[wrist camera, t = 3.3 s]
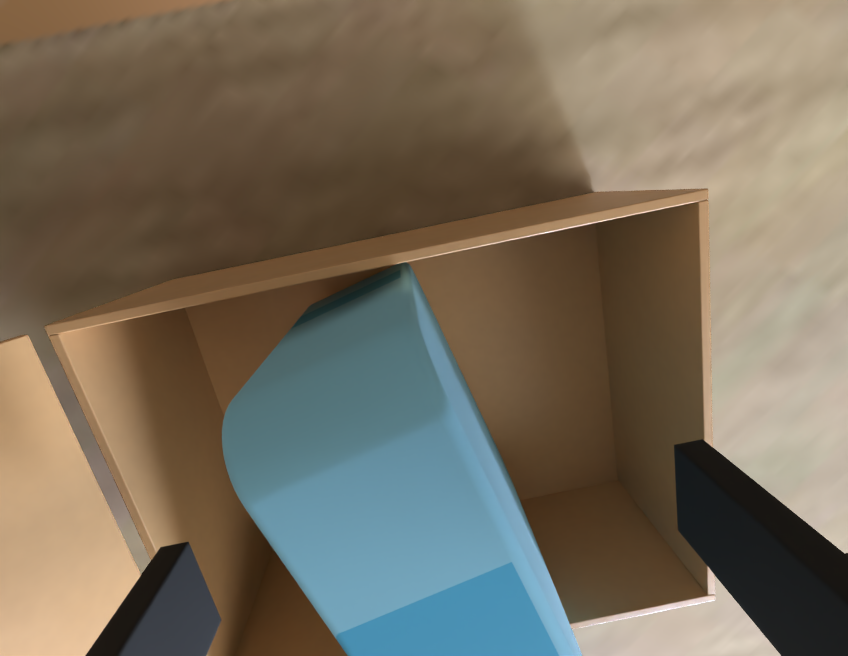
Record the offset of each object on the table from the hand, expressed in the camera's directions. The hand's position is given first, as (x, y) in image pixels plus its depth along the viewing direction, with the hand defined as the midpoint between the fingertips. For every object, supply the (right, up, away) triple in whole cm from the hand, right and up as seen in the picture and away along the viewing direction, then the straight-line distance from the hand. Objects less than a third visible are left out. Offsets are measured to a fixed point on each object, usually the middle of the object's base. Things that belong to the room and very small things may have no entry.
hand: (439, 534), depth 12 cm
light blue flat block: (-1, +3, +9) cm, 10 cm away
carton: (-1, +3, +9) cm, 10 cm away
